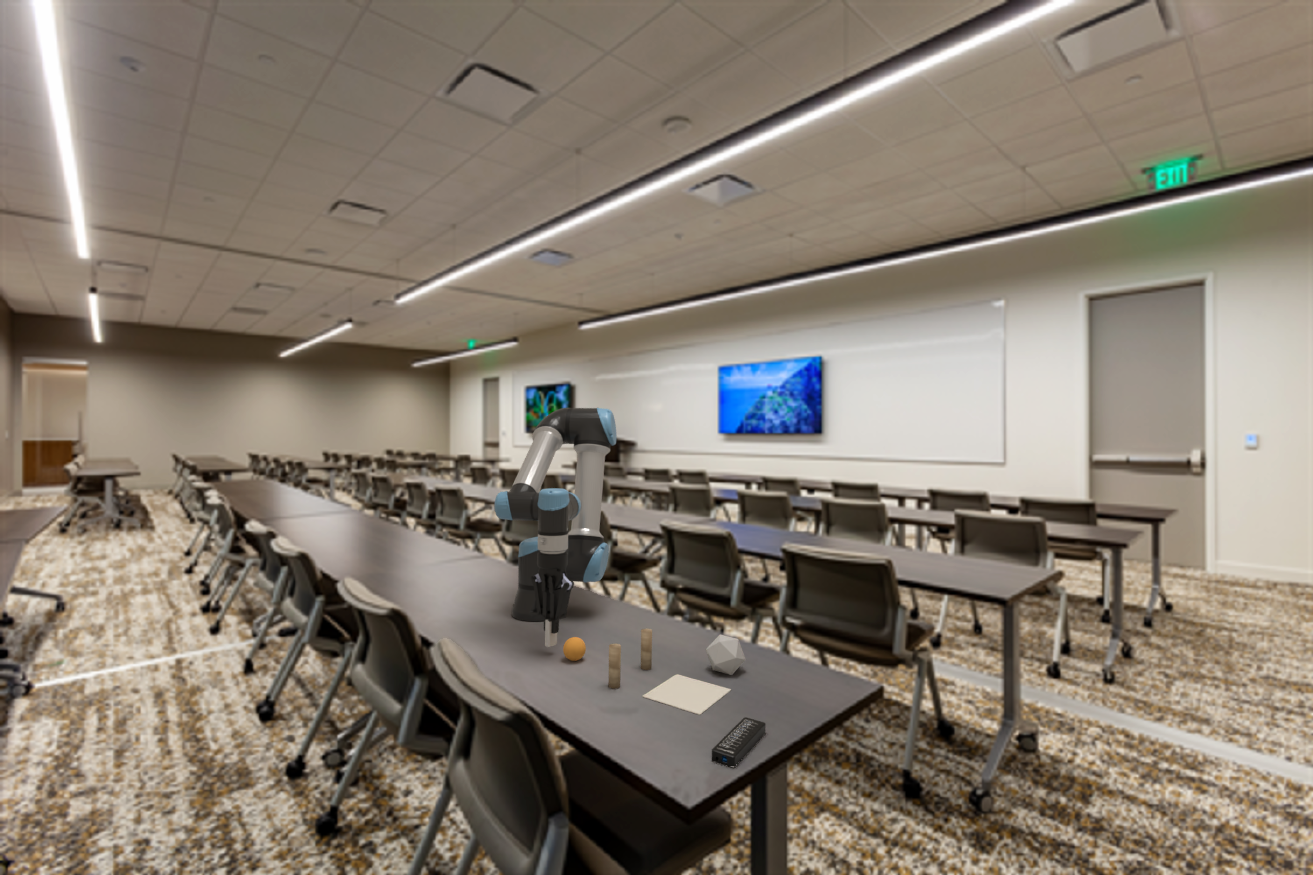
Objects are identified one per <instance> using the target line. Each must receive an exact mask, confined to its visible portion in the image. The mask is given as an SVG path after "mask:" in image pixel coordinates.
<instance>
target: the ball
mask: <svg viewBox="0 0 1313 875" xmlns="http://www.w3.org/2000/svg"><path fill="white" fill-rule="evenodd" d="M586 647H587V646H586V643H585V642H584V640H583V639H582V638H580V637H578V636H573V637H570V638H568V639H567V640H566V641H565V642H564V644H563V648H562V652H563V655H564V657H565V658H566V659H568V660H569V661H571V662H577V661H579V660H581V659H582V658H583V657H584V656H585V654H586V651H587V648H586Z"/></svg>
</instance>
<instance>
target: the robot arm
mask: <svg viewBox="0 0 1313 875" xmlns="http://www.w3.org/2000/svg"><path fill="white" fill-rule="evenodd" d="M615 420H616V419H615V415H614V413H613V411H612V410H611V409H610V408H599V407H564V408H559V409H556V410H554V411H553V412H550V413H549V414H548V415H546V416H545V417H544V418H542V420H541V421H539V423H538V424H537V426H536V427H535V429H534V431H533V433H532V437H531V438H532V443H531V445H530V447H529V450H527V454H526V455H525V458H524V459H523V461H522V464H521V466H520V469H519V471H518V472H517V475H516V476H515V479H514V482H513V484H512V486H511V487H510V490H509V491H508V490H505V491H500V492H498V493H497V495H496V496H495V499H494V505H493V506H494V512H495V515H496V517H497V518H498V519H501V520H506V521H507V520H509V521H536V522H537V536H534V537H529V538H525V539H524V540H522V541H521V542H520V543H519V545H518V555H517V557H518V558H517V559H518V567H517V569H518V571H517V573H518V575H517V576H518V581H517V582H518V583H517V584H518V586H517V592H516V595H515V598H514V603H513V604H512V606H511V607H512V608H511V616H512V617H513V618H514V619H516V620H519V621H525V622H541V621H543V631H544V647H547V648H551V647H553V646H556V645H557V644H558V633H559V631H560V620H561V619H563V618H566V616H567V611H568V606H569V602H570V597H571V593H572V589H573V588H574V586H575V583H577V582H578V583H579V582H581V583H584V584H586V583H596V582H597V583H598V582H600V581H601V579H602V578H603V577H604V575H605V573H606V569H607V565H608V560H609V549H610V548H609V545H608V543H606V542H605V540H604V539H605V537H604V536H603V535H602V533H601V532H600V527H601V525H600V523H601V514H602V512H601V511H602V500H603V499H602V498H603V488H604V477H605V476H604V473H605V460H606V456H607V455H608V454H609V453H610V452H611V446H615V445H616V444H617V440H618V439H617V437H618V436H617V425H616V421H615ZM563 445H573V446H572V447H573V450H574V452H576V454H577V459H576V460H577V461H576V471H575V481H574V492H570V491H568V490H567V489H565V488H558V487H557V488H555V487H554V488H553V487H551V488H550V487H549V488H542V489H541V487H542V485H543V483H544V480H545V478H546V475H547V474H548V472H549V469H550V467H551V464H552V461H553V460H554V457H555V454H556V452H557V451H559V450H560V449H561V448H562V446H563ZM540 489H541V490H540ZM569 521H571V528H570V530H569Z"/></svg>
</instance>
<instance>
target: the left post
mask: <svg viewBox="0 0 1313 875" xmlns="http://www.w3.org/2000/svg"><path fill="white" fill-rule="evenodd" d="M621 653H622V645H621V644H620V643H610V644H609V645H608V688H609V689H612V690H614V689H615V690H616V689H619V688H621V669H622V668H621V666H622V665H621V660H622V659H621V656H622V654H621Z"/></svg>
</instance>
